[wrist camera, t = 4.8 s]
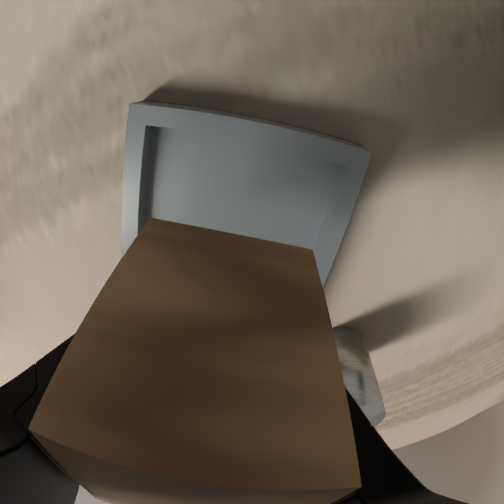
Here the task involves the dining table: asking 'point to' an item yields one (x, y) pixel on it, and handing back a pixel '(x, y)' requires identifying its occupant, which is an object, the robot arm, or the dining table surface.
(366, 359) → the steel cylinder
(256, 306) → the walnut block
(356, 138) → the dining table surface
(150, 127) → the tray
